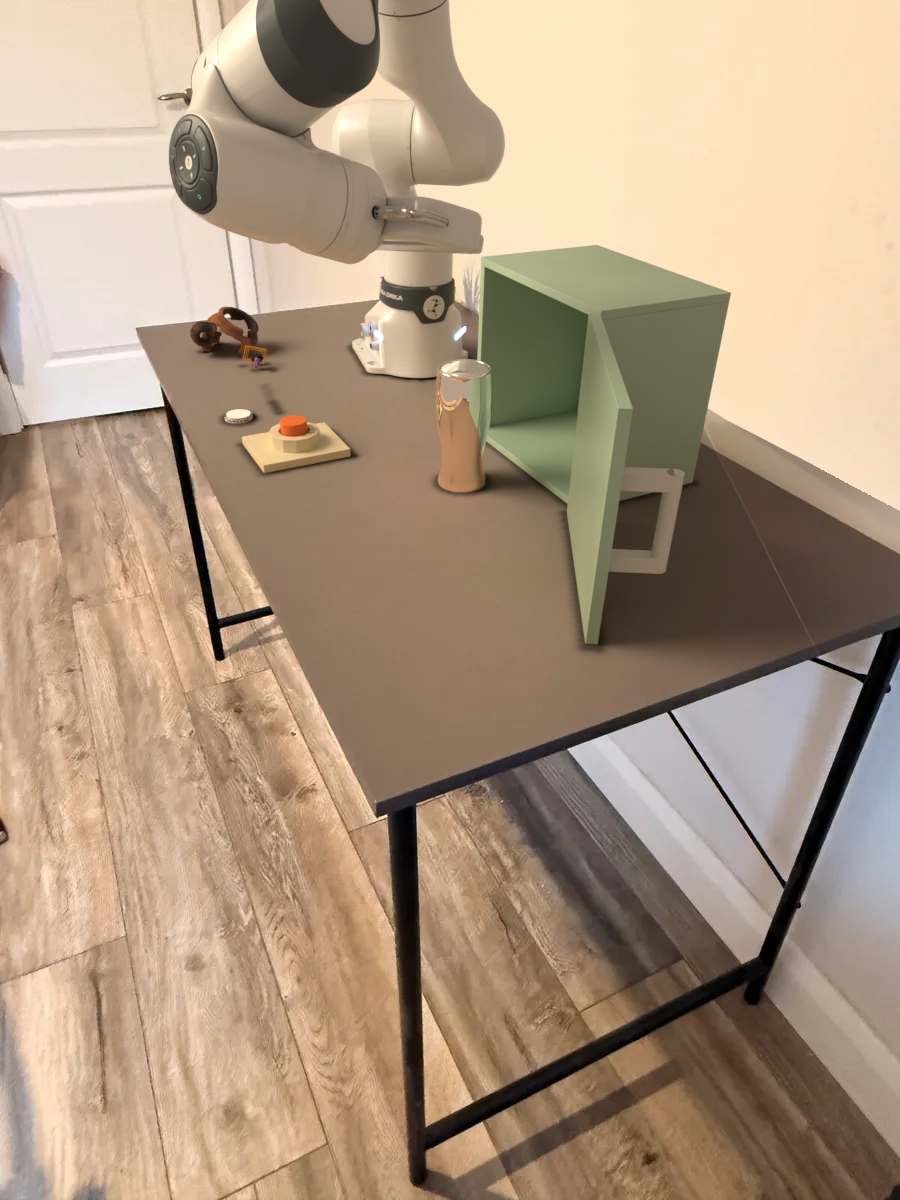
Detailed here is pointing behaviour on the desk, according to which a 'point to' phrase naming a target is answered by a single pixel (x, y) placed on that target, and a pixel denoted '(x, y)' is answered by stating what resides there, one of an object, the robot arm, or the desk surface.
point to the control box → (295, 447)
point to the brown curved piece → (225, 329)
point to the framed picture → (255, 356)
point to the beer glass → (463, 422)
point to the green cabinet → (557, 345)
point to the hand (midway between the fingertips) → (445, 244)
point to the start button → (293, 426)
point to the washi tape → (238, 416)
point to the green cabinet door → (609, 483)
